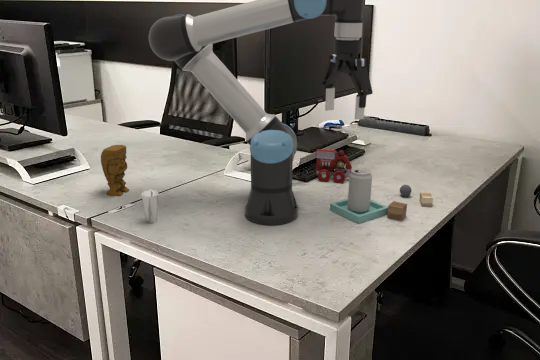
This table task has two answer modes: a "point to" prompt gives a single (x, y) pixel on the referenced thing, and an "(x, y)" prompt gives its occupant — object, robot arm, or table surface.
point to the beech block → (426, 199)
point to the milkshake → (150, 205)
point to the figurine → (115, 168)
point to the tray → (372, 213)
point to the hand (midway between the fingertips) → (343, 114)
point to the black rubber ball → (405, 190)
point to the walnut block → (397, 211)
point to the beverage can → (359, 190)
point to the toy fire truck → (332, 165)
